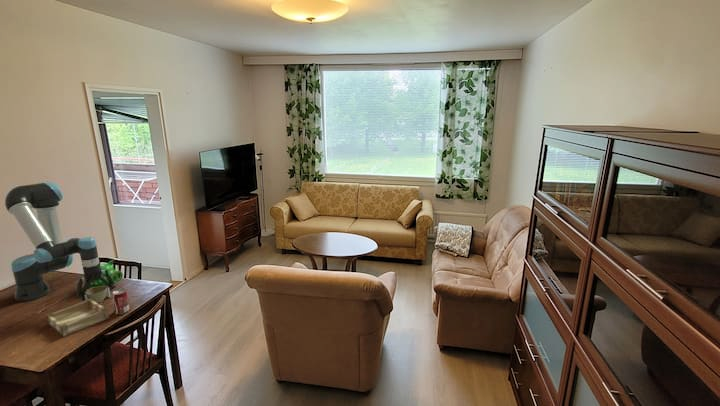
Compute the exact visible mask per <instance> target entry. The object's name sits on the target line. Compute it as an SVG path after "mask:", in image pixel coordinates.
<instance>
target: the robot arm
mask: <svg viewBox="0 0 720 406" xmlns="http://www.w3.org/2000/svg"><path fill="white" fill-rule="evenodd" d="M63 197H64V196H63V193H62V191H61V189H60V187H59V186H58V185H57V184H56V183H55V182H50V181H49V182H40V183H32V184H26V185H19V186H15V187H13V188H12V189H11V190H10V191H8V193H7V195H6V196H5V200H4V203H5V205H4V206H5V207H6V210H7V211H8V213H9V215H10V214H11V215H13V217H14V218H15V219H16V221H17V222H18V224H19V225H20V227H21V228H22V230H23V231H24V233H25V234H26V236H27V237H28V239H29V240H30V242H31V244H32V245H33V246H34V248H35V250H33V253H30V254H25V255H23V256H19V257H17V258H16V259H14V260H13V261H11V272H12V275H13V277H14V282H15V291H14V299H15V301H17V302H26V301H32V300H36V299H40V298H42V297H45V296H47V294H49V293H51V287H50V286H49V284H48V283H47V282H46V280H45V279H44V275H45V274H50V273H52V272H55V271H59V270H63V269H65V268H67V267H69V266H71V265H72V264H73V260H74V255H75V254H79V255H80V260H81V266H82V270H83V276H82V277H77V286H76V292H75V295H76V296H77V297H80V298H81V301H82V302H84V301H87V300H88V298H87V295H86V294H85V293H86V291H87V290H88V289H89V284H90V283H91V282H93V281H95V280H98V279H100V280H101V281H102V282H103V283H105V284H106V285H107V286H106V287H107V293H106V296H107V298H109V299H110V298H112V297H111V296H112V294H111V292H112V284H113V285H115V284H114V282H113V280H112V278H111V277H110V275H109V274H108V270H106V269H104V270H103V271H101V268H100V265H101V264H100V258H99V254H98V248H97V247H98V246H97V242H96V239H95V237H92V236H86V237H82V238H79V237H72V238H71V237H70V238H69V239H67V241H63V237H62V233H61V226H60V221H59V216H58V210H57V208H58V207H59V205H60V202H61V201H62V200H63ZM33 209H35V210H36V213H35V212H34V210H33ZM36 214H37V215H36ZM102 273H103V274H105V276H106V277H107V279H108V280H109V282H110V283H108V282H107V281H105V280H104V279H103V278H102V277H101V274H102ZM84 279H86V281H85V280H84ZM83 283H84V284H83Z"/></svg>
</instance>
